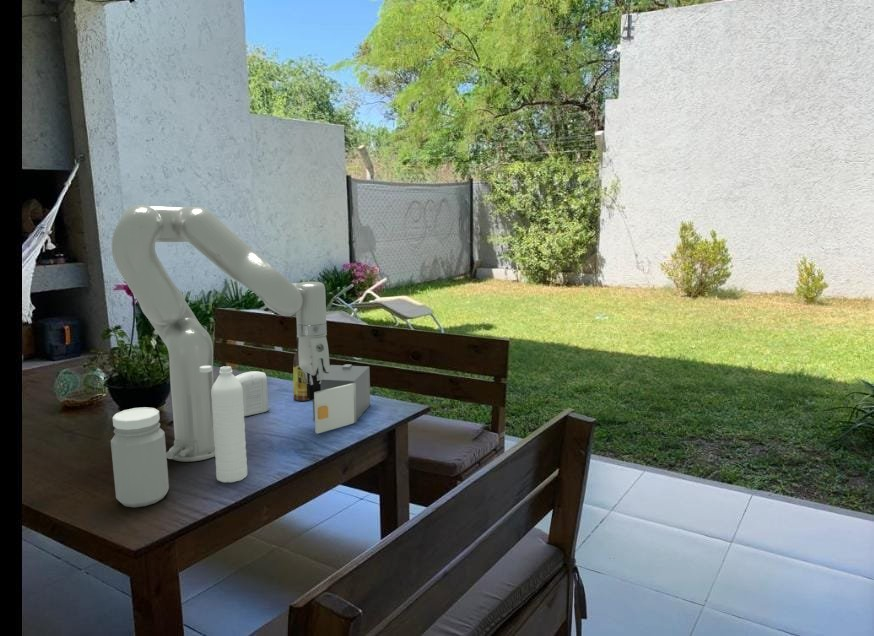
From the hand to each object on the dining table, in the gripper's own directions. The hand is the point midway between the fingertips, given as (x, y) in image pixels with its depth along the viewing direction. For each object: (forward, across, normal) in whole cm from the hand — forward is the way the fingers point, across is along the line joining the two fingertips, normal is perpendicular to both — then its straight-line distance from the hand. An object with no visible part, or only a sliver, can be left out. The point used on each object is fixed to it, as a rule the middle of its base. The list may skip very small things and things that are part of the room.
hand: (314, 398), depth 161 cm
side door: (+9, -2, -6) cm, 11 cm away
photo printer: (+10, +24, +9) cm, 27 cm away
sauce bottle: (+9, +29, -9) cm, 32 cm away
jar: (+10, -16, +44) cm, 48 cm away
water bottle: (+10, -15, +28) cm, 33 cm away
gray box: (+9, +10, -13) cm, 19 cm away
